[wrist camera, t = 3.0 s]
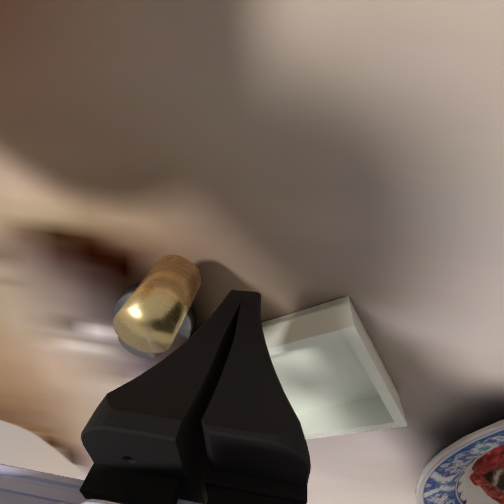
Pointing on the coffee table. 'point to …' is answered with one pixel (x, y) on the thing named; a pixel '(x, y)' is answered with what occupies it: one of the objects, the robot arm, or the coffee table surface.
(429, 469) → the ceramic plate
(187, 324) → the disc
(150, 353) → the brass cylinder knob
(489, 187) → the coffee table surface
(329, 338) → the tray
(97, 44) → the coffee table surface
